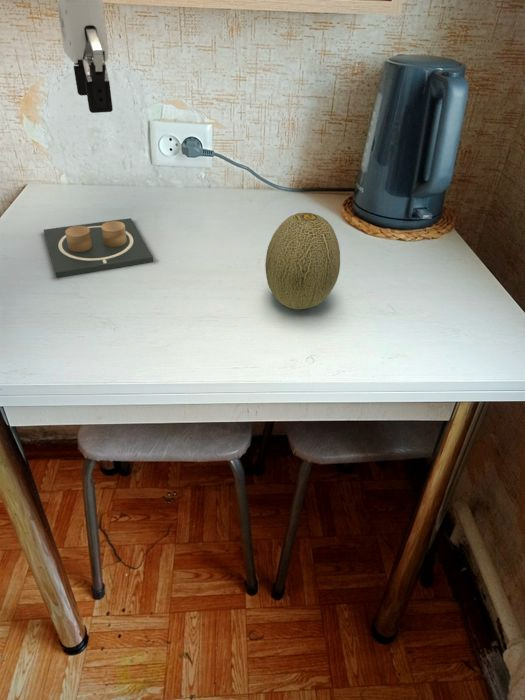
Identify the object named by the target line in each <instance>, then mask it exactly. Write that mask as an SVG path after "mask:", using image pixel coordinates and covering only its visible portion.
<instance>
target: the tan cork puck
mask: <svg viewBox="0 0 525 700" xmlns="http://www.w3.org/2000/svg"><path fill="white" fill-rule="evenodd" d="M72 226H73V227H70V228H68V229H67V230H66V231H65V233H66V238H67V243H68V248H69V249H70V250H71V251H74V252H84V251H87V250H89V249H91V248H92V240H91V234H90V229H89V228H88V227H85V226H75V225H72Z"/></svg>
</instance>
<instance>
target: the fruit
mask: <svg viewBox="0 0 525 700" xmlns="http://www.w3.org/2000/svg"><path fill="white" fill-rule="evenodd" d="M338 240H339V239H338V237H337V235H336V232H335V230H334V228H333V226H332V224H331V223H330V222H329V221H328V220H327V219H326V218H324V217H323V216H321V215H319V214H315V213H312V212H297V213H295V214H292V215H290V216H288V217H287V218H286V219H285V220H283V221H282V222H281V223H280V225H278V227H277V229H276V230H275V231H274V232H273V235H272V236H271V239H270V241H269V244H268V246H267V251H266V255H265V264H264V267H265V268H264V269H265V278H266V280H267V285H268V288H269V290H270V293H272V295H273V297H274V298H275V299H276V300H277V301H278V303H280V304H282V305H283V306H285V307H286V308H288V309H291V310H307V309H310V308H314V307H315V306H318V305H320V304H321V303H322V302H324V300H326V299H327V298H328V297H329V296H330V294H331V293H332V291H333V289H334V287H335V285H336V283H337V281H338V278H339V276H340V275H339V274H340V270H341V250H340V244H339V241H338Z"/></svg>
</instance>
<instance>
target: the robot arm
mask: <svg viewBox="0 0 525 700" xmlns="http://www.w3.org/2000/svg"><path fill="white" fill-rule="evenodd" d="M56 5H57V6H56V7H57V13H58V21H59V28H60V34H61V42H62V48H63V52H64V53H65V55H66V56H67V58H69V60H70V61H71V62H73V72H74V79H75V84H76V91H77V94H78V95H79V96H86V97H87V98H86V99H87V104H88V105H87V106H88V110H89V112H90V113H91V114H96V113H98V114H99V113H111V112H113V110H114V109H113V100H112V93H111V92H112V91H111V83H110V80H109V74H108V70H107V65H106V62H107V61H108V60H109V47H108V45H109V43H108V37H107V28H106V20H105V13H104V12H105V11H104V4H103V0H56Z"/></svg>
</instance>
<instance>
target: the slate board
mask: <svg viewBox="0 0 525 700" xmlns="http://www.w3.org/2000/svg"><path fill="white" fill-rule="evenodd" d="M110 221H119V222H122V223H124V225H125V231H126V239H127V242H126V243H125V244H124V245H122V246H118V247H110V246H107V245H105V244H104V241H103V235H102V229H101V226H102V225H103V224H104V223H106V222H110ZM133 221H134V220H132V218H131V217H127V218H119V219H114V220H105V221H99V222H91V223H83V224H75V225H69V226H60V227H52V228H46V229H43V234H44V237H45V241H46V244H47V245H46V246H47V248H48V251H49V255H50V259H51V262H52V266H53V269H54V274H55V277H56V278H62V277H69V276H75V275H80V274H88V273H93V272H98V271H105V270H110V269H111V270H112V269H116V268H122V267H130V266H134V265H142V264H147V263H152V262H154V256H153V254H152V253H151V251H150V249H149V248H148V246H147V244H146V242H145V241H144V239H143V237H142V235H141V233H140V231H139V230H138V228H137V227H136V224H135V223H134V222H133ZM73 226H85V227H88V228H89V229H90V234H91V240H92V248H91V249H89V250H87V251H84V252H74V251H71V250H70V249H69V248H68V243H67V238H66V233H65V231H66V230H67V229H68V228H70V227H73Z"/></svg>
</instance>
